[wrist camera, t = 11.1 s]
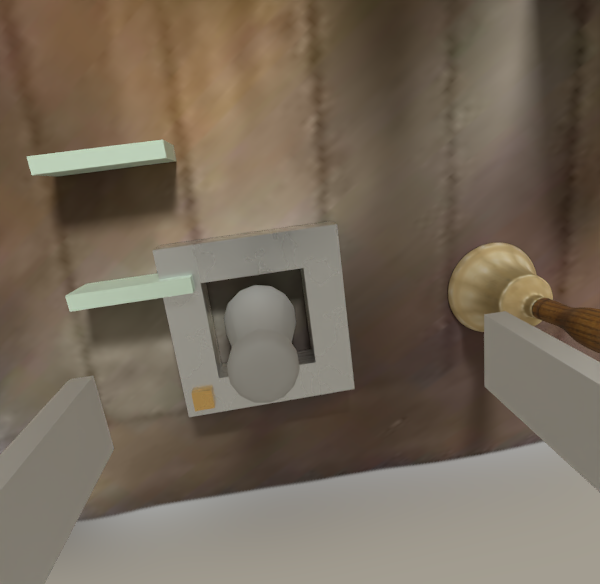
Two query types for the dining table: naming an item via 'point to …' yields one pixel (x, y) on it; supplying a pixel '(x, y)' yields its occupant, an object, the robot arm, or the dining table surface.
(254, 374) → the salt shaker
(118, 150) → the pale green rectangular blocks
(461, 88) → the dining table surface
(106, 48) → the dining table surface
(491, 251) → the hand bell
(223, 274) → the socket
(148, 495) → the dining table surface
